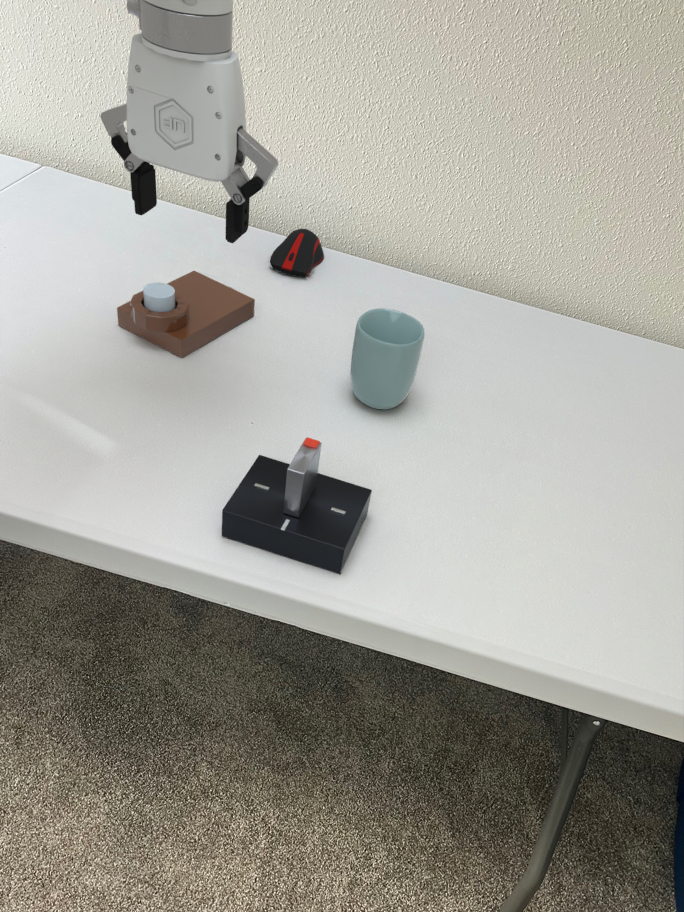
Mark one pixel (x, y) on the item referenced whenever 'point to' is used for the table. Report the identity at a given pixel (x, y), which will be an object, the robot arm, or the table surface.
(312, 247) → the computer mouse
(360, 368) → the cup
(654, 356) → the table surface
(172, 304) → the pale blue short cylinder
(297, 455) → the tap knob
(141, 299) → the brown mounting plate
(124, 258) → the table surface
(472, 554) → the table surface
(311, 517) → the plate
